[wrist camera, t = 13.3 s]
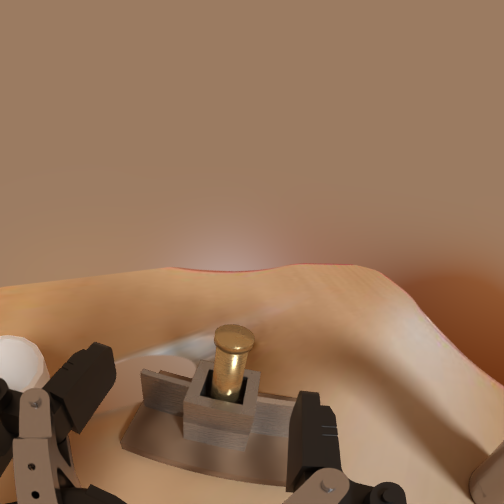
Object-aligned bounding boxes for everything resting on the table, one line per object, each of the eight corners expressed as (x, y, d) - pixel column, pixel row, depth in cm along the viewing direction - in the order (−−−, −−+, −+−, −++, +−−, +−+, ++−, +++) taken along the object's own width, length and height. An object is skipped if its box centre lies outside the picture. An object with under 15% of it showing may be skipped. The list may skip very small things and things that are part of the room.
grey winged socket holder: (296, 416, 33) (311, 379, 31) (296, 458, 26) (314, 423, 24) (155, 386, 34) (152, 347, 32) (135, 422, 27) (128, 383, 25)
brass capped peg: (237, 417, 32) (256, 328, 27) (232, 438, 28) (252, 351, 24) (208, 410, 32) (219, 321, 27) (202, 432, 28) (210, 342, 24)
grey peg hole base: (297, 405, 37) (300, 398, 36) (297, 487, 23) (300, 482, 23) (160, 377, 38) (160, 370, 37) (122, 448, 25) (120, 442, 24)
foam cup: (11, 415, 22) (-26, 335, 18) (71, 414, 26) (45, 333, 22) (12, 476, 14) (-46, 400, 10) (83, 476, 19) (42, 403, 15)
